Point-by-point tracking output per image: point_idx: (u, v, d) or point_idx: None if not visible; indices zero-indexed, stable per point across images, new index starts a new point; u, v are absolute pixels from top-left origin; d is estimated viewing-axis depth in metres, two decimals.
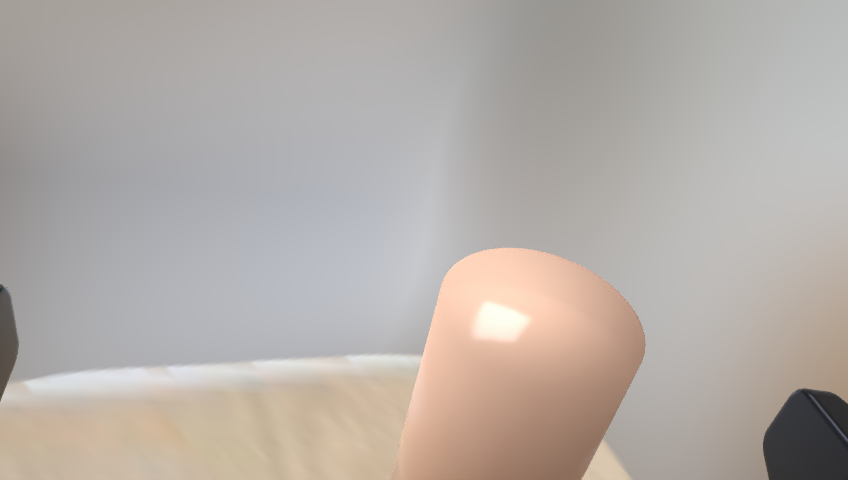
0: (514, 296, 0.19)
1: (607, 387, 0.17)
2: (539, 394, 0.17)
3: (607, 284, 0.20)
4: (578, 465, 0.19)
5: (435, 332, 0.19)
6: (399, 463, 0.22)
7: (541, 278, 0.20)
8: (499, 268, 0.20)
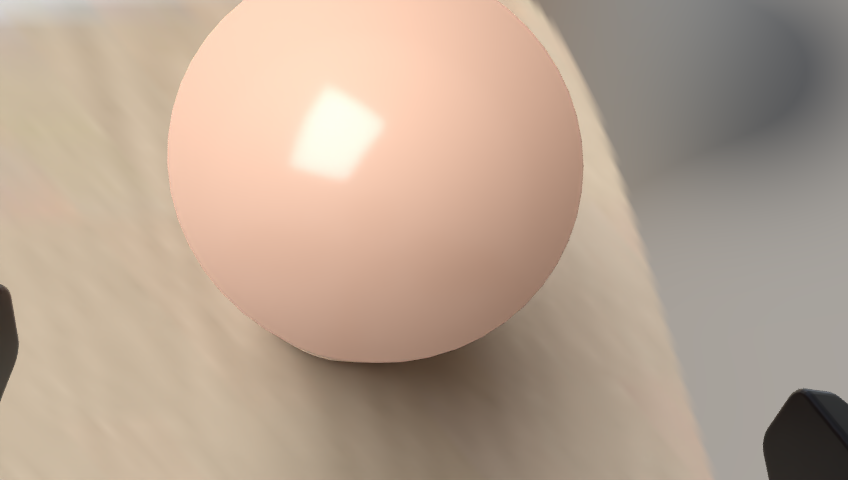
0: (331, 110, 0.09)
1: (472, 339, 0.09)
2: (339, 359, 0.09)
3: (540, 48, 0.10)
4: None
5: None
6: None
7: (400, 49, 0.10)
8: (314, 27, 0.10)
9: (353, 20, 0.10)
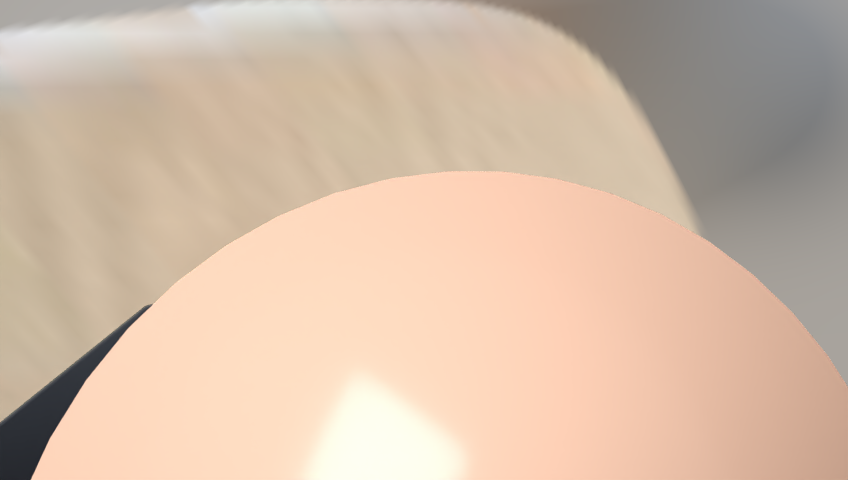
0: None
1: None
2: None
3: (822, 360, 0.05)
4: None
5: None
6: None
7: (526, 381, 0.04)
8: (334, 341, 0.04)
9: (422, 318, 0.04)
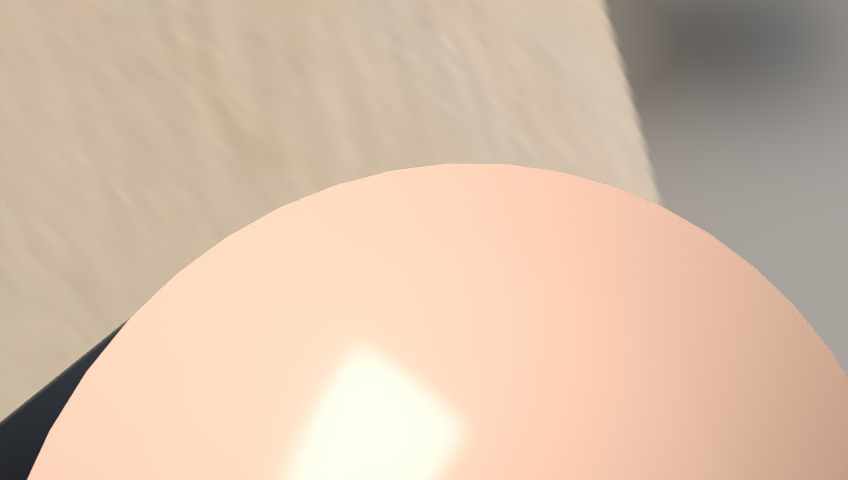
0: None
1: None
2: None
3: (823, 354, 0.05)
4: None
5: None
6: None
7: (527, 373, 0.04)
8: (336, 334, 0.04)
9: (423, 310, 0.04)
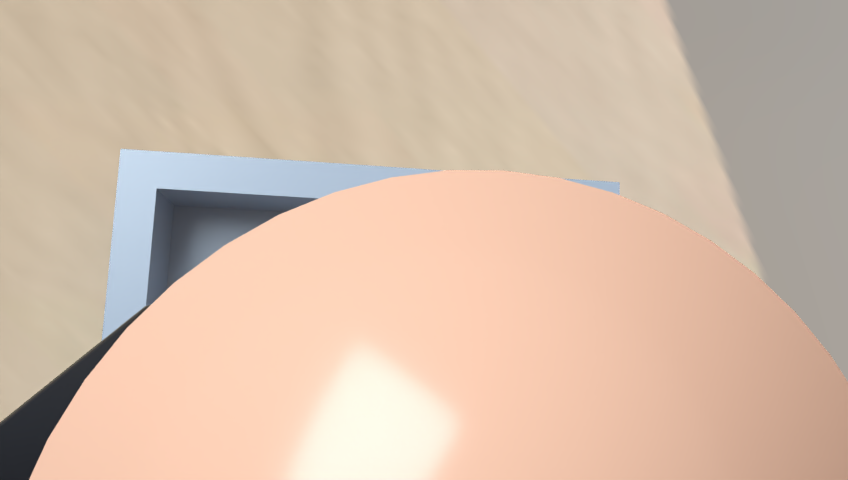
0: None
1: None
2: None
3: (825, 359, 0.05)
4: None
5: None
6: None
7: (528, 381, 0.04)
8: (336, 340, 0.04)
9: (423, 317, 0.04)
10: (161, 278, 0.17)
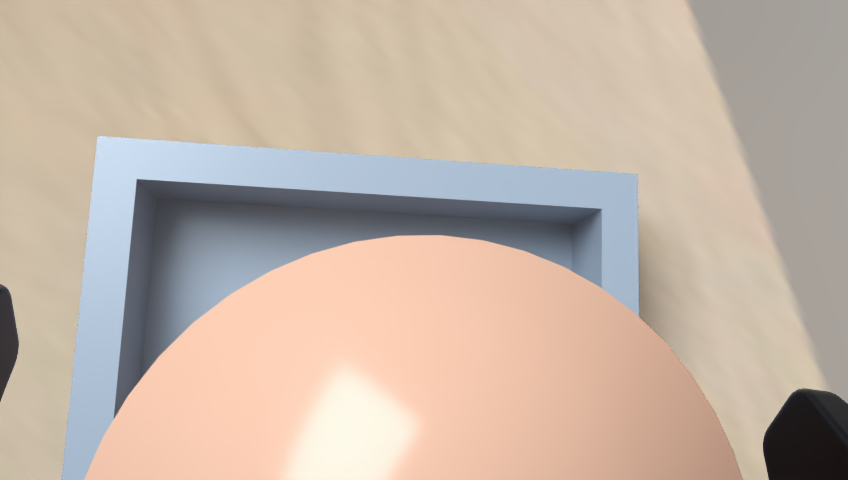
0: None
1: None
2: None
3: (686, 378, 0.06)
4: None
5: None
6: None
7: (456, 394, 0.06)
8: (313, 366, 0.06)
9: (378, 347, 0.06)
10: (142, 277, 0.16)
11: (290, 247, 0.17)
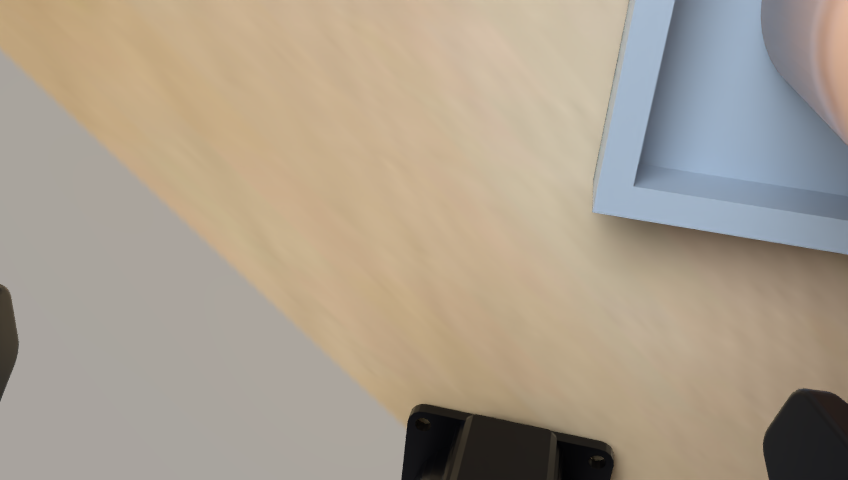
0: None
1: None
2: None
3: None
4: None
5: None
6: (811, 37, 0.13)
7: None
8: None
9: None
10: None
11: None
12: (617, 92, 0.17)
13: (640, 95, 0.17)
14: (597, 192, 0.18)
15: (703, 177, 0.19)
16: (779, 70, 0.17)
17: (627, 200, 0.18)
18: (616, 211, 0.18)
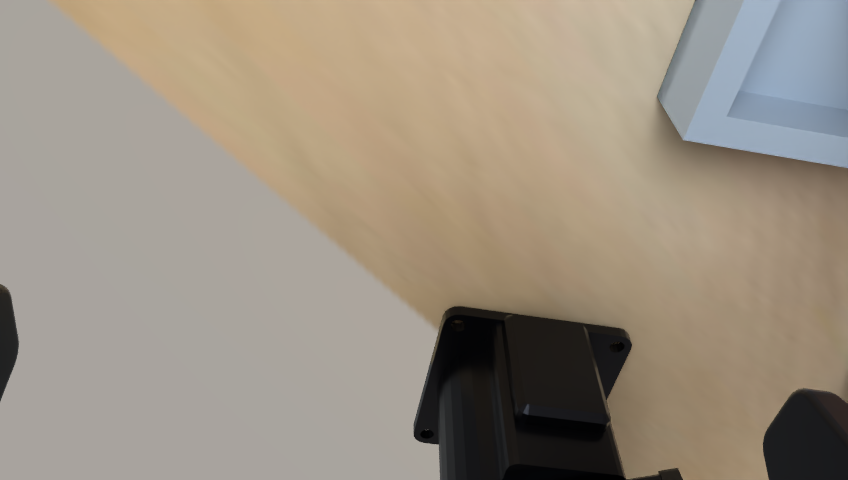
0: None
1: None
2: None
3: None
4: None
5: None
6: None
7: None
8: None
9: None
10: None
11: None
12: (731, 27, 0.17)
13: (753, 31, 0.17)
14: (691, 121, 0.19)
15: (769, 100, 0.20)
16: None
17: (718, 129, 0.19)
18: (705, 138, 0.19)
